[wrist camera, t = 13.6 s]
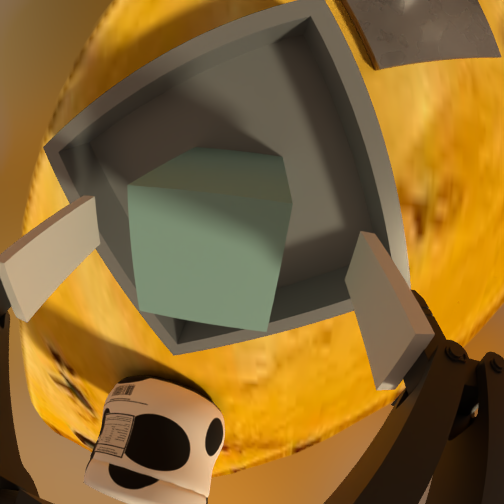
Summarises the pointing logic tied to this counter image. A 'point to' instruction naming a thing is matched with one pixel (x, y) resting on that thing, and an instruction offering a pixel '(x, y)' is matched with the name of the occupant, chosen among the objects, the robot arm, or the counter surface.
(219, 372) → the counter surface
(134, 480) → the milk container
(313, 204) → the bin
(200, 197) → the green rectangular block
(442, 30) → the base
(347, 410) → the counter surface
